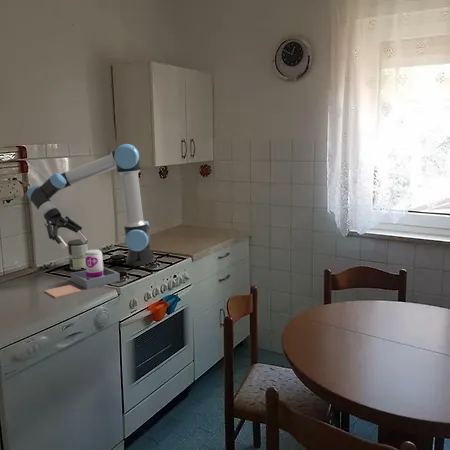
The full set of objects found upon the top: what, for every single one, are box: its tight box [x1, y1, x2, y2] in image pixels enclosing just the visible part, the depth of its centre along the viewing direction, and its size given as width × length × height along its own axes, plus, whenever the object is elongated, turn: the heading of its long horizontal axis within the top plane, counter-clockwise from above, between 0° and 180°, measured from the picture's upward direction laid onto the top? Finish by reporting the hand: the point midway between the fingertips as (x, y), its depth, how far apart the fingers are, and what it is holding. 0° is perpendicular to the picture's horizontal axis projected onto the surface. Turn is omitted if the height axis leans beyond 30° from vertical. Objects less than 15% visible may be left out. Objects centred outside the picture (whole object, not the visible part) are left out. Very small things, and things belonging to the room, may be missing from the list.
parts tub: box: [70, 266, 121, 290], centre depth 230 cm, size 17×17×4 cm
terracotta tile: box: [44, 284, 82, 299], centre depth 215 cm, size 12×12×1 cm
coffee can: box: [67, 238, 89, 270], centre depth 255 cm, size 10×10×14 cm
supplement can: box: [85, 248, 104, 280], centre depth 229 cm, size 8×8×15 cm
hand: (75, 244), depth 231 cm, fingers open, 13 cm apart
